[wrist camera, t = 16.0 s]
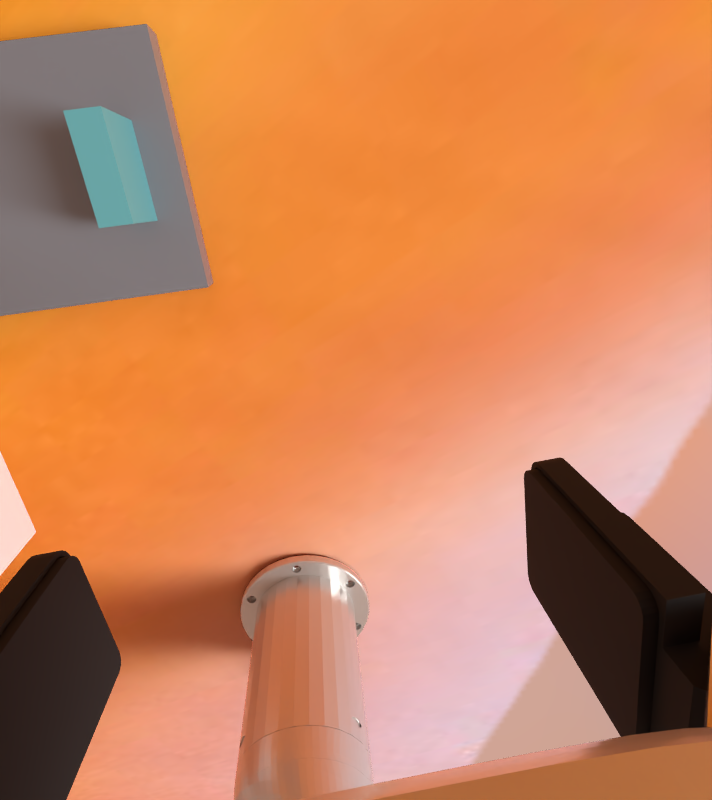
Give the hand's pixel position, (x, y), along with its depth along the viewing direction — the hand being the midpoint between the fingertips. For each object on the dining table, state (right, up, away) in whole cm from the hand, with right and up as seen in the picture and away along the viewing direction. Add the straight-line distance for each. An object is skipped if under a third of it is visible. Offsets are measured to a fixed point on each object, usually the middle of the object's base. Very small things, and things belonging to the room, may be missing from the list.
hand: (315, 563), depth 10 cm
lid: (-21, +18, +24) cm, 36 cm away
